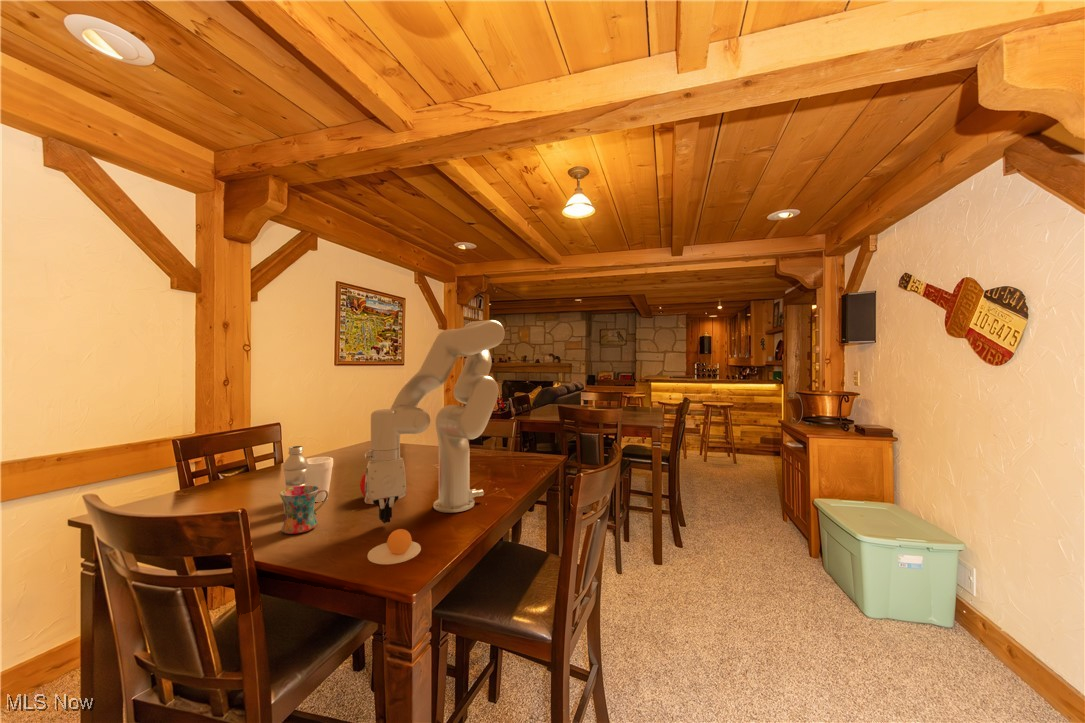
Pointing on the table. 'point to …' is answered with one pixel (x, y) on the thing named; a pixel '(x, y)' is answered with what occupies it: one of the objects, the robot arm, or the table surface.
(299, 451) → the plastic bottle
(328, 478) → the foam cup
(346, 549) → the table surface
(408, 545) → the ball
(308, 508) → the mug
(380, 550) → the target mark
